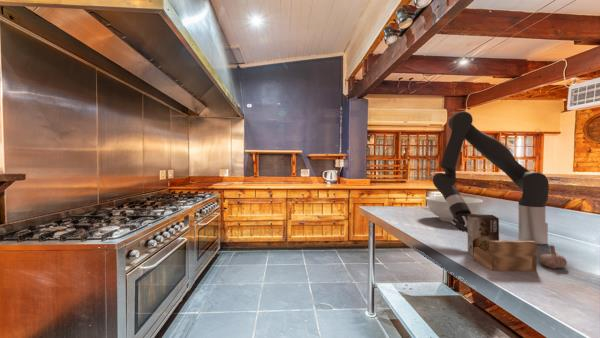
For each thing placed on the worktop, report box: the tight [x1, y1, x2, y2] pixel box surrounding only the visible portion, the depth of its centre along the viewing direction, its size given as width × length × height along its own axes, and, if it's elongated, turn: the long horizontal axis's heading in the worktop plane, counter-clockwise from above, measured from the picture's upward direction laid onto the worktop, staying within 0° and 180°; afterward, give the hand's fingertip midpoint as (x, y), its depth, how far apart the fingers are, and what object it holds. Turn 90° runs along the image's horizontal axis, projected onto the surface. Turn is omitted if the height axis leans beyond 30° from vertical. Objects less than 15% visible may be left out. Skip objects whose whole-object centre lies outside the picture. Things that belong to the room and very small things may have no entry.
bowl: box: [425, 195, 484, 223], centre depth 159 cm, size 32×32×15 cm
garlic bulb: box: [539, 244, 568, 270], centre depth 86 cm, size 8×7×8 cm
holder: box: [473, 240, 538, 272], centre depth 87 cm, size 15×9×10 cm, turn 88°
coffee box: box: [467, 213, 500, 257], centre depth 97 cm, size 9×6×16 cm
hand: (475, 239), depth 102 cm, fingers closed
